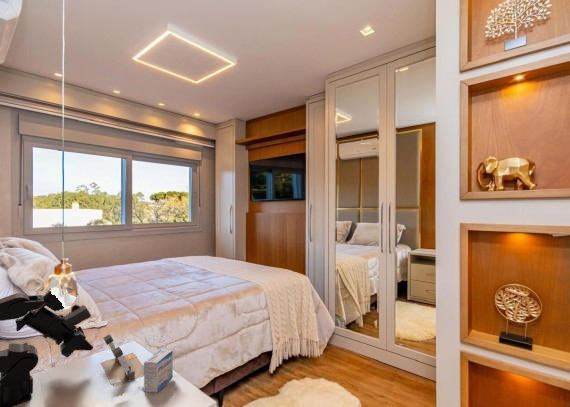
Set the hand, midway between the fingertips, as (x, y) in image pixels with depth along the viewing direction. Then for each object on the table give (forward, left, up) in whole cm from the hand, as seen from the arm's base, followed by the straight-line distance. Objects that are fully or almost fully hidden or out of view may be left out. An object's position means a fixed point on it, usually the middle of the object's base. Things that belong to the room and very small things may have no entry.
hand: (92, 348), depth 93 cm
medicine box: (+12, -21, -8) cm, 26 cm away
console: (+7, -7, -8) cm, 13 cm away
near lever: (+7, -13, -7) cm, 16 cm away
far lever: (+8, -1, -7) cm, 10 cm away
